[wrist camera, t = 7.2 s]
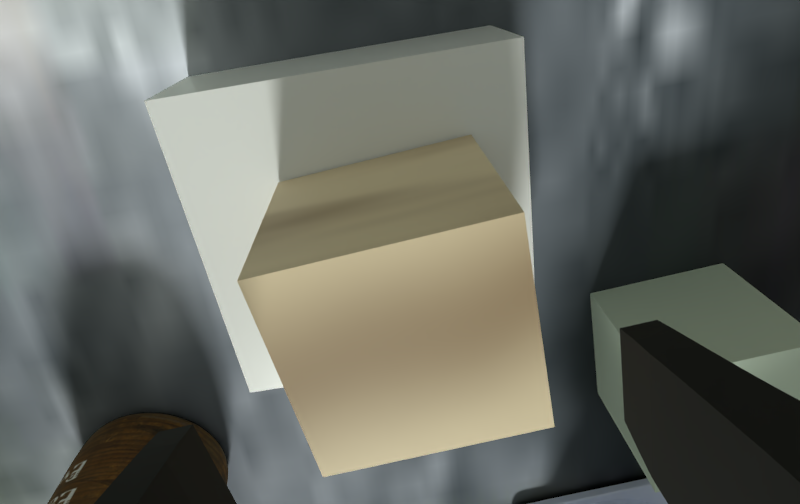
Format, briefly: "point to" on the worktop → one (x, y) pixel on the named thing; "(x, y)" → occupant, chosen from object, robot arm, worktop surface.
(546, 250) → the worktop surface
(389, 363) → the maple cube
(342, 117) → the grey base block
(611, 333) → the sage cube
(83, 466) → the utensil holder
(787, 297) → the worktop surface
